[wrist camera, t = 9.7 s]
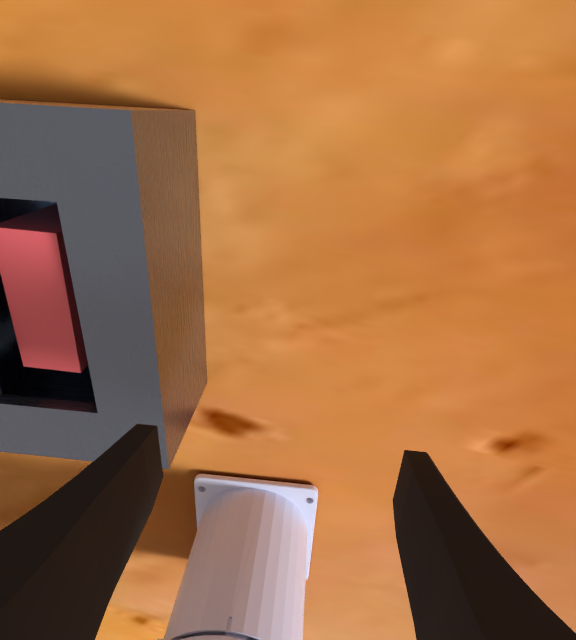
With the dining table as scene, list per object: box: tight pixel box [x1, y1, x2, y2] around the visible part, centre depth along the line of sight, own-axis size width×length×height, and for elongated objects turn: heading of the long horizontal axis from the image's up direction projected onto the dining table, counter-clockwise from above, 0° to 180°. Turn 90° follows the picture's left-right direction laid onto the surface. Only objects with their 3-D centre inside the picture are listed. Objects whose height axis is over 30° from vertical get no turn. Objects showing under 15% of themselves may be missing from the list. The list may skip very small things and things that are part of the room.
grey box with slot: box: [0, 99, 207, 469], centre depth 18 cm, size 14×10×6 cm
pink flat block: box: [0, 203, 88, 373], centre depth 19 cm, size 6×2×5 cm, turn 176°
